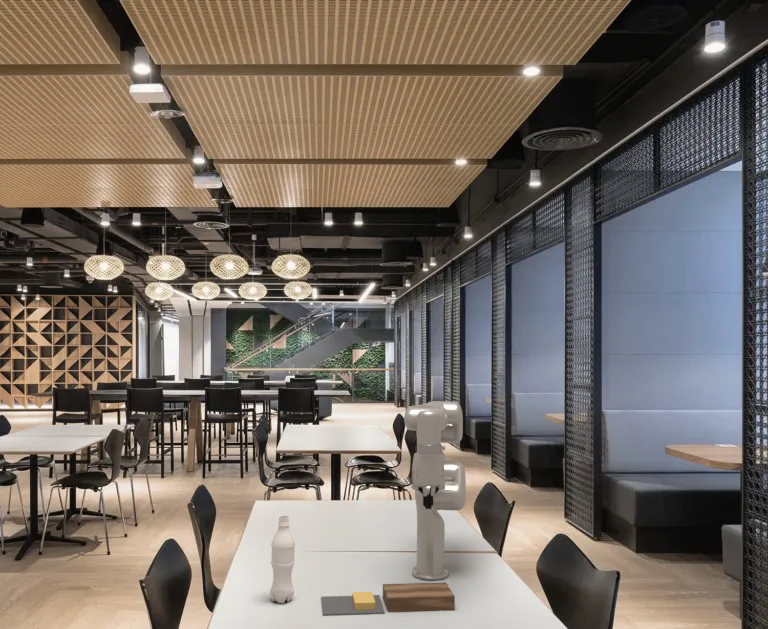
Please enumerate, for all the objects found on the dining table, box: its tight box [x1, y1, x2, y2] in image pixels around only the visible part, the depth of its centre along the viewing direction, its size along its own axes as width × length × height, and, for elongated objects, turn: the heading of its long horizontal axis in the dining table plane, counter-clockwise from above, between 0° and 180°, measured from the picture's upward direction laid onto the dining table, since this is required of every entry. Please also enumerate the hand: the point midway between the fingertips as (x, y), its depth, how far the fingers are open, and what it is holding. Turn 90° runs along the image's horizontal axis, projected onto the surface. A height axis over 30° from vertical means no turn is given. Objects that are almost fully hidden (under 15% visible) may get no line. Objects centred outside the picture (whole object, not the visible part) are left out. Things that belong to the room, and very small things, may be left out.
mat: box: [320, 594, 386, 617], centre depth 198 cm, size 14×18×1 cm
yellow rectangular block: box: [351, 591, 375, 610], centre depth 198 cm, size 9×6×2 cm, turn 8°
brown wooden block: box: [382, 582, 456, 613], centre depth 201 cm, size 12×20×4 cm, turn 97°
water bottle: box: [269, 515, 296, 604], centre depth 202 cm, size 7×7×25 cm
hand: (428, 508), depth 209 cm, fingers closed
